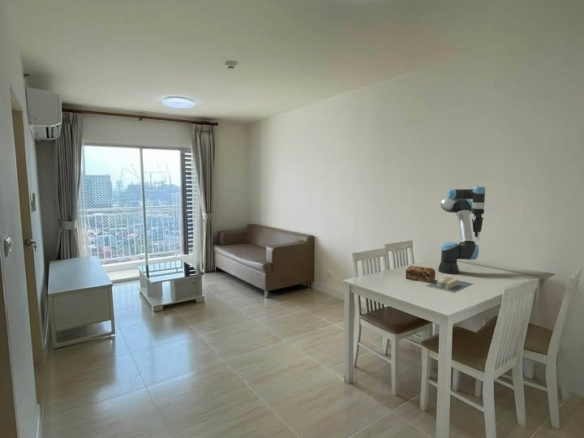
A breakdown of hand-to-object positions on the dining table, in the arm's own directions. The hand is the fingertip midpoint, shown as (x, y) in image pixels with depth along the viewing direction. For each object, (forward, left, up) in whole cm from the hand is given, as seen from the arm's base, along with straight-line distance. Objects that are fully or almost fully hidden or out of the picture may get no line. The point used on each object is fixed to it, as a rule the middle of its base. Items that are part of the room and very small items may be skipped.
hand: (476, 241), depth 243 cm
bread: (-28, -27, -30) cm, 49 cm away
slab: (-7, -21, -27) cm, 35 cm away
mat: (-7, -24, -29) cm, 39 cm away
